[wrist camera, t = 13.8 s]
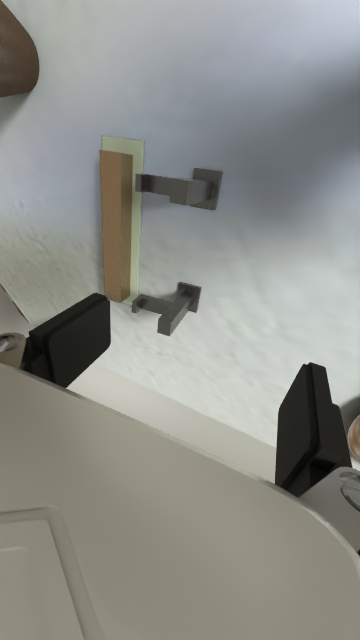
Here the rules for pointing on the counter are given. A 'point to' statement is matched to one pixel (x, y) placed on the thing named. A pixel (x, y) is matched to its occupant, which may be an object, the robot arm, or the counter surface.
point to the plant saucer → (354, 438)
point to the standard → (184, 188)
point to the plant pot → (16, 56)
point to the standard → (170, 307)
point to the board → (137, 151)
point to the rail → (116, 222)
